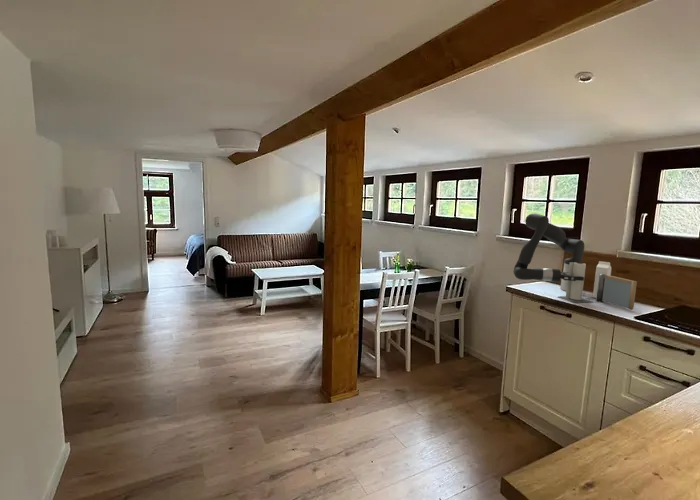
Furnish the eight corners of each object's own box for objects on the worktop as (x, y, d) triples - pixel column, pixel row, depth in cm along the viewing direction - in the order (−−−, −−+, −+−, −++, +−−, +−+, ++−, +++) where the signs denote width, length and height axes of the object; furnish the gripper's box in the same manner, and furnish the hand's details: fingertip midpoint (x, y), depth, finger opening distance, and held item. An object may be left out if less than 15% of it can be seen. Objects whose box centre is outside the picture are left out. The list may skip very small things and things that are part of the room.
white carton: (584, 300, 217) (588, 263, 214) (576, 300, 215) (580, 264, 212) (573, 296, 224) (577, 261, 221) (565, 297, 222) (569, 261, 219)
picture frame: (601, 300, 214) (604, 275, 212) (604, 300, 215) (607, 275, 213) (630, 309, 197) (634, 281, 195) (634, 309, 198) (638, 281, 196)
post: (594, 300, 218) (598, 273, 216) (599, 300, 219) (602, 273, 217) (599, 302, 215) (603, 274, 213) (604, 302, 216) (607, 274, 214)
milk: (603, 299, 222) (608, 263, 218) (592, 297, 226) (596, 261, 223) (607, 298, 225) (612, 262, 222) (596, 296, 230) (600, 260, 227)
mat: (557, 297, 224) (557, 296, 224) (575, 296, 227) (575, 295, 227) (575, 303, 211) (575, 302, 211) (593, 302, 214) (594, 301, 214)
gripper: (553, 270, 214) (586, 273, 209) (548, 266, 227) (578, 268, 223) (552, 283, 215) (584, 286, 210) (547, 278, 228) (577, 281, 224)
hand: (581, 277), depth 217 cm, fingers open, 8 cm apart
